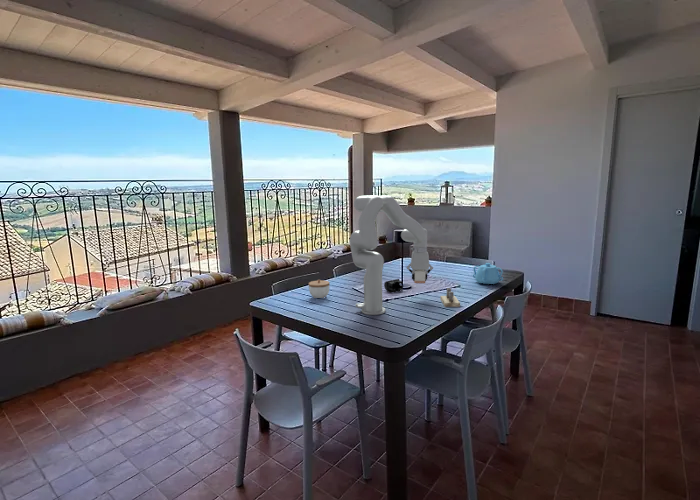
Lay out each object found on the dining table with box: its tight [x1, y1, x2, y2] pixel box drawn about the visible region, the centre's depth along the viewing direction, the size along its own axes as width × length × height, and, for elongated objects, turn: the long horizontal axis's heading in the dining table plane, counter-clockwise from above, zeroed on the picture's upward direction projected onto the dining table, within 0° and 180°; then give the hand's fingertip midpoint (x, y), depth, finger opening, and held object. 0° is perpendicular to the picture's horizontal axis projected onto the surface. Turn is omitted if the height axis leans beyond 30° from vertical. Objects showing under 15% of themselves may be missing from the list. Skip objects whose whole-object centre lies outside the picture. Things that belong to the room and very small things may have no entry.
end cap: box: [383, 278, 404, 293], centre depth 231 cm, size 10×7×7 cm
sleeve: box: [413, 270, 426, 284], centre depth 212 cm, size 6×6×7 cm
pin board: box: [440, 287, 461, 308], centre depth 201 cm, size 8×14×7 cm, turn 175°
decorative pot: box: [472, 262, 504, 285], centre depth 242 cm, size 16×16×14 cm
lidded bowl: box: [308, 279, 331, 299], centre depth 219 cm, size 13×13×11 cm
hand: (419, 280), depth 212 cm, fingers closed on sleeve, 6 cm apart
